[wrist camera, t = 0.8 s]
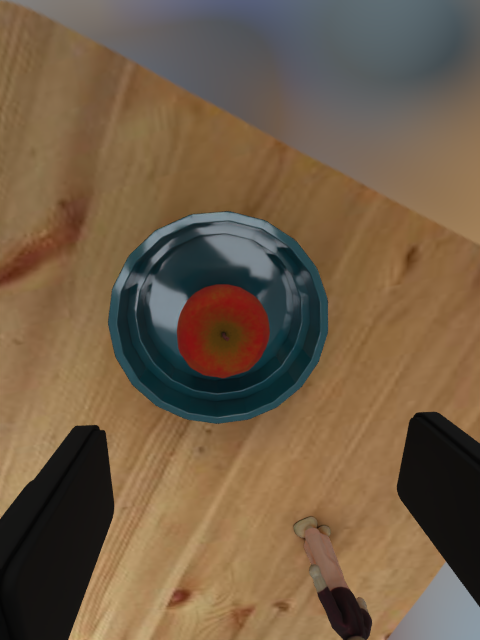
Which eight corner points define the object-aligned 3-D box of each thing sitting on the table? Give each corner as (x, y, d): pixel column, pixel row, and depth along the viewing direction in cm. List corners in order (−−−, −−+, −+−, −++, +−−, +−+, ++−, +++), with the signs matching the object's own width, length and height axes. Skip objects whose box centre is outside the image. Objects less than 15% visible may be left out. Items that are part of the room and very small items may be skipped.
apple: (225, 360, 25) (230, 406, 18) (168, 318, 24) (150, 350, 17) (271, 306, 25) (296, 333, 17) (215, 260, 23) (217, 267, 16)
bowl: (99, 343, 24) (71, 368, 20) (183, 179, 22) (175, 161, 17) (249, 415, 28) (257, 451, 23) (339, 279, 25) (369, 288, 20)
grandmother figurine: (278, 532, 32) (320, 711, 20) (298, 507, 31) (353, 677, 19) (331, 554, 34) (399, 731, 21) (350, 531, 33) (432, 701, 21)
